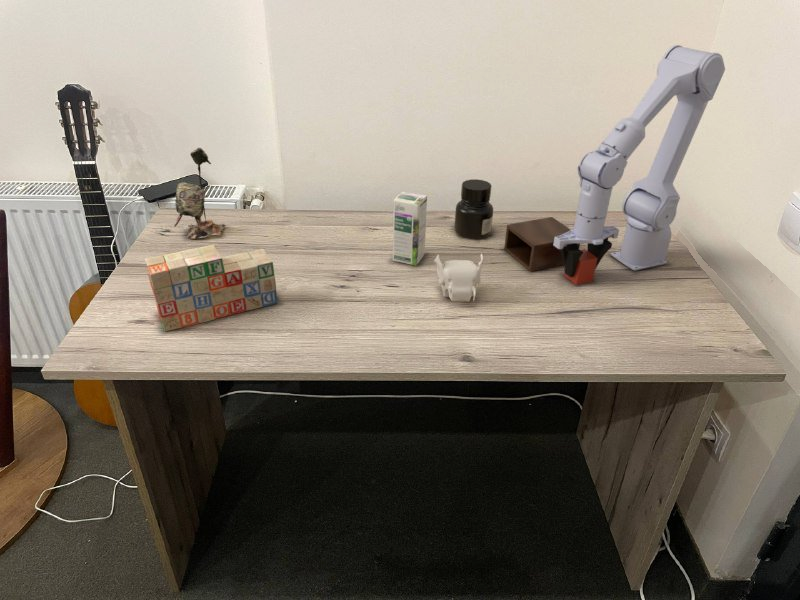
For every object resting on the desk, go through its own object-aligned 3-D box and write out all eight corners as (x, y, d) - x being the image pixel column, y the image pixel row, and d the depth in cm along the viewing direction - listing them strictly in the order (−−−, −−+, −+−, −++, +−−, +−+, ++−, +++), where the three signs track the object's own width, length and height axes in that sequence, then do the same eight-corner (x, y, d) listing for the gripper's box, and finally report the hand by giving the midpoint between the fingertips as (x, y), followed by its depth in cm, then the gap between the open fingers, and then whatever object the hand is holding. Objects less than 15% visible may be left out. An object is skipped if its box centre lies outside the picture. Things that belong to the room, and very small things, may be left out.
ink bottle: (493, 241, 141) (498, 193, 134) (455, 240, 141) (459, 192, 134) (488, 223, 149) (493, 177, 142) (452, 222, 149) (456, 176, 143)
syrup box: (391, 261, 132) (392, 199, 124) (401, 250, 136) (403, 189, 128) (416, 266, 130) (418, 204, 122) (425, 254, 134) (428, 194, 127)
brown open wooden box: (547, 241, 141) (552, 216, 138) (576, 262, 133) (581, 236, 129) (503, 249, 137) (506, 224, 134) (530, 271, 129) (534, 245, 125)
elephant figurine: (437, 312, 115) (439, 272, 110) (431, 280, 125) (433, 242, 120) (486, 312, 115) (491, 271, 110) (476, 280, 125) (480, 242, 121)
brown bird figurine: (184, 224, 146) (169, 143, 135) (230, 226, 145) (218, 145, 134) (171, 239, 139) (153, 155, 128) (219, 241, 138) (205, 157, 127)
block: (580, 272, 129) (585, 248, 126) (592, 281, 126) (597, 257, 123) (564, 275, 128) (568, 252, 125) (576, 285, 124) (580, 261, 121)
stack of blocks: (268, 289, 121) (262, 234, 114) (278, 304, 116) (272, 247, 110) (158, 315, 113) (143, 257, 106) (163, 332, 108) (149, 273, 101)
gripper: (573, 226, 113) (561, 288, 120) (634, 215, 118) (619, 275, 125) (551, 212, 119) (542, 271, 126) (611, 202, 123) (598, 260, 131)
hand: (579, 272), depth 126 cm, fingers open, 5 cm apart
